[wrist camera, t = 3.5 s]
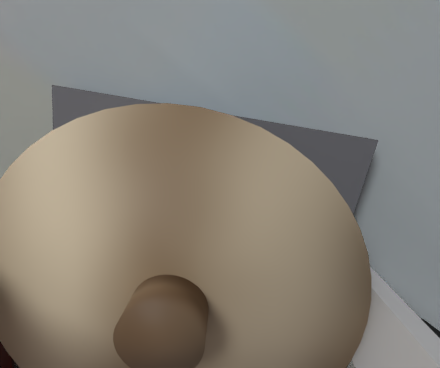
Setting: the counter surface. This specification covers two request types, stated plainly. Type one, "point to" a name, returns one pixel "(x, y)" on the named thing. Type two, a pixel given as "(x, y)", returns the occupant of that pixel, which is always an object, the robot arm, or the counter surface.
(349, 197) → the mat
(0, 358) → the mug
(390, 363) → the robot arm
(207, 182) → the lid
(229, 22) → the counter surface
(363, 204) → the counter surface
